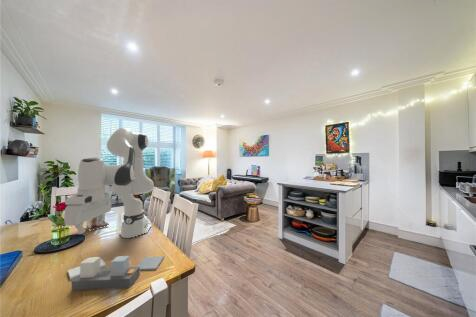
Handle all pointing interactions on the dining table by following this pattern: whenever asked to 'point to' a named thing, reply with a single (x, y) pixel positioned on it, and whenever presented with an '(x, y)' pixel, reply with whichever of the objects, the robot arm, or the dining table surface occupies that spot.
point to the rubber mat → (150, 263)
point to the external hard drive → (76, 271)
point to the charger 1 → (89, 267)
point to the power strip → (106, 280)
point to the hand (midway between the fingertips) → (91, 228)
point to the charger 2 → (120, 266)
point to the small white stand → (92, 222)
